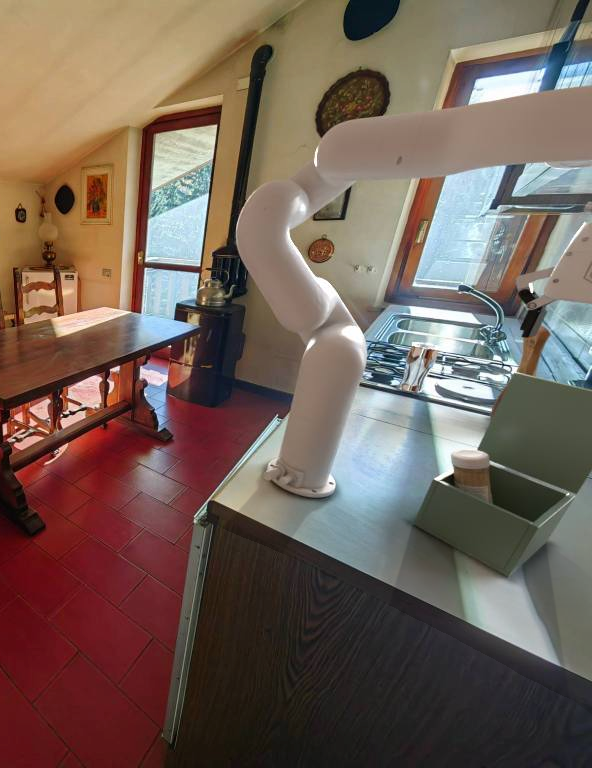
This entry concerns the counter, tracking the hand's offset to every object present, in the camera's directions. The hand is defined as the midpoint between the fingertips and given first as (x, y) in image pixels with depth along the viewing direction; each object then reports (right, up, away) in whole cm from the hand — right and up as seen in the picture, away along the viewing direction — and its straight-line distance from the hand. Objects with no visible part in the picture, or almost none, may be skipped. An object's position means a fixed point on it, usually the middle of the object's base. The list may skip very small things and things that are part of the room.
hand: (576, 345), depth 54 cm
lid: (+7, -13, +10) cm, 18 cm away
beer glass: (+38, -7, +73) cm, 83 cm away
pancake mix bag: (+43, -17, +50) cm, 68 cm away
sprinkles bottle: (-1, -30, +13) cm, 33 cm away
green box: (0, -31, +14) cm, 34 cm away
